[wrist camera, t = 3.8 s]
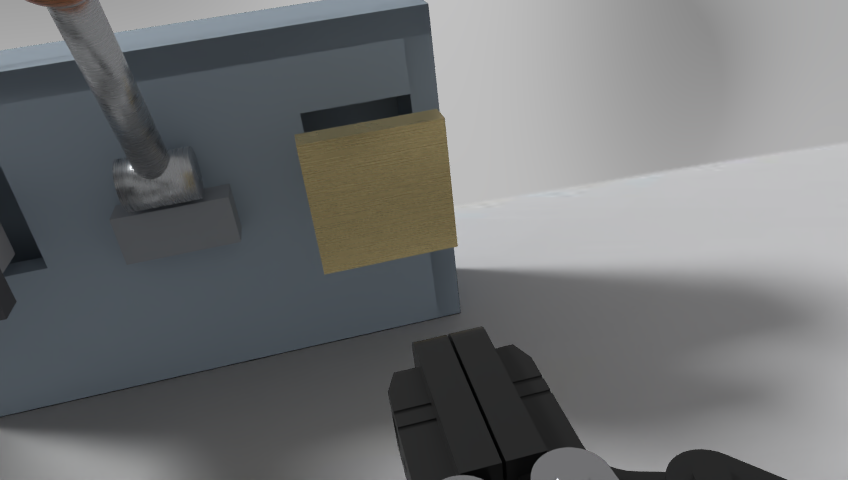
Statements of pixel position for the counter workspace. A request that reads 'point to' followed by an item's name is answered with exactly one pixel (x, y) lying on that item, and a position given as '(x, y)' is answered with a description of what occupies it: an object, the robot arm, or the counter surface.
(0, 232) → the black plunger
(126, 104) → the lever
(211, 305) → the block
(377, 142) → the tan square block
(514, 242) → the counter surface
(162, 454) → the counter surface
